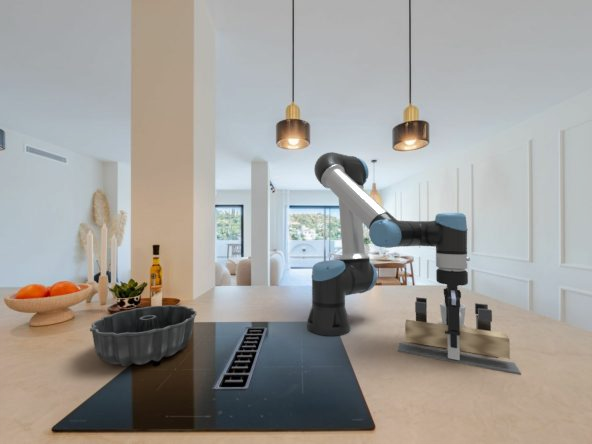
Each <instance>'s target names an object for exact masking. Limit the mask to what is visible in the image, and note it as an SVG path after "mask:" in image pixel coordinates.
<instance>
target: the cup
mask: <svg viewBox="0 0 592 444" xmlns="http://www.w3.org/2000/svg"><path fill="white" fill-rule="evenodd" d="M439 307H440V308H439V309H440V315H441V321H442V323H441V324H443V325H446V323H447V322H446V306H445V301H443V302H440V303H439ZM465 315H466V306H465V304H463V303H460V308H459V322H460V327H464V325H465Z"/></svg>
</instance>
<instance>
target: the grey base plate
mask: <svg viewBox="0 0 592 444" xmlns="http://www.w3.org/2000/svg"><path fill="white" fill-rule="evenodd" d="M397 352H399V353H405V354H410V355H416V356H421V357H426V358H431V359H436V360H441V361H446V362H447V361H448V362H452V363H458V364H462V365H467V366H468V365H469V366H474V367H479V368H483V369H490V370H493V371H494V370H495V371H500V372H505V373H512V374H516V375H522V372H521V371H520V369H519V367H518V366H517V365H516V363H515V362H513V361H506V360H500V359H495V358H489V357H483V356H477V355H474V354H473V355H472V354H467V353H461V352H460V360H455V359H449V358H448V351H447V350H445V349H444V350H443V349H438V348H433V347H425V346H420V345H414V344H410V343H409V344H408V343H404V342H399V343H398V347H397Z"/></svg>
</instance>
